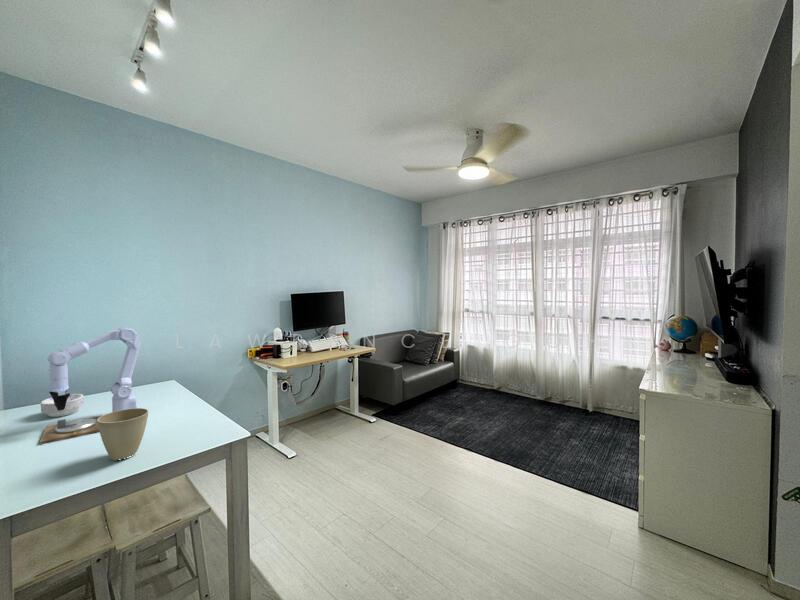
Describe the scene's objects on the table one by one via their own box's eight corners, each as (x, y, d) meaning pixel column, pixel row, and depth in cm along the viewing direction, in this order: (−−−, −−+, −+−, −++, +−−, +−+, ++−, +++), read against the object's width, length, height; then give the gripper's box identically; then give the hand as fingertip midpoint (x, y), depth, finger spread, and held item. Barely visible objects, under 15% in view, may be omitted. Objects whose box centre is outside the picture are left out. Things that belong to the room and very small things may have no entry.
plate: (106, 417, 160) (105, 414, 160) (106, 430, 146) (106, 427, 146) (46, 429, 147) (46, 426, 147) (40, 444, 132) (40, 441, 132)
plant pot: (138, 463, 119) (137, 420, 118) (88, 469, 115) (87, 424, 114) (155, 444, 133) (155, 406, 133) (112, 449, 129) (111, 409, 129)
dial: (96, 418, 155) (95, 410, 155) (95, 427, 146) (95, 418, 146) (56, 426, 147) (56, 417, 146) (53, 436, 137) (53, 426, 137)
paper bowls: (45, 422, 155) (45, 405, 154) (37, 415, 163) (36, 399, 162) (88, 412, 167) (88, 396, 167) (78, 406, 175) (78, 391, 175)
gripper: (44, 377, 147) (45, 406, 148) (47, 383, 138) (48, 414, 139) (66, 374, 153) (67, 402, 153) (71, 379, 144) (72, 409, 144)
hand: (59, 407), depth 146 cm, fingers open, 7 cm apart
